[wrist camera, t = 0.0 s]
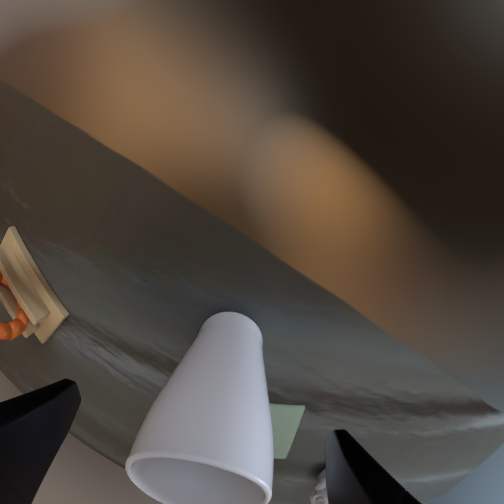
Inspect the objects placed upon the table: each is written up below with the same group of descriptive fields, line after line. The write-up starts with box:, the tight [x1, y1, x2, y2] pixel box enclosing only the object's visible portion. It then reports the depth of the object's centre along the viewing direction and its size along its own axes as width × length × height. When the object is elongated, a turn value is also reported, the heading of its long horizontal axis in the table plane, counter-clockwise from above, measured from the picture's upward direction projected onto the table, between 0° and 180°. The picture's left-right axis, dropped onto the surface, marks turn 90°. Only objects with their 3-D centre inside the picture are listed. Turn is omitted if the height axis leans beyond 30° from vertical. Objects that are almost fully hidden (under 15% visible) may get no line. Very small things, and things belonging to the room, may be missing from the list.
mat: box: [269, 403, 305, 459], centre depth 25 cm, size 10×10×1 cm
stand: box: [0, 226, 69, 344], centre depth 22 cm, size 12×7×4 cm, turn 38°
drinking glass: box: [125, 312, 274, 504], centre depth 16 cm, size 7×7×15 cm
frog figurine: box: [310, 468, 329, 504], centre depth 24 cm, size 6×7×7 cm
